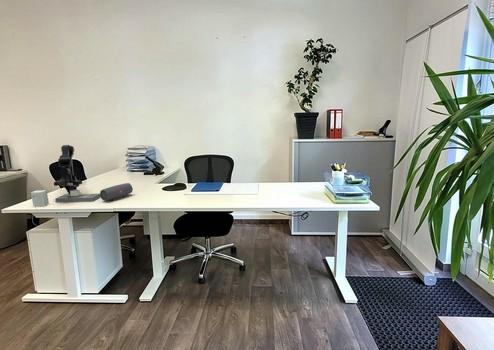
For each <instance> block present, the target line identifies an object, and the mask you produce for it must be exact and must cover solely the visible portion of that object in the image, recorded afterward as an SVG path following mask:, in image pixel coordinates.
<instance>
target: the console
mask: <svg viewBox="0 0 494 350" xmlns="http://www.w3.org/2000/svg"><path fill="white" fill-rule="evenodd" d="M98 199H101V198H100V192H99V193H80V195H79V196H71V195H70V194H68V193H66V194H65V193H64V194H62V195H60V196H57V197H55V198H54V200H55V203H91V202H92V203H93V202H95V201H97V200H98Z"/></svg>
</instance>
